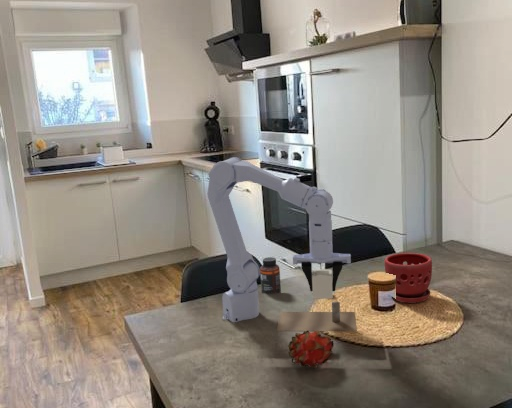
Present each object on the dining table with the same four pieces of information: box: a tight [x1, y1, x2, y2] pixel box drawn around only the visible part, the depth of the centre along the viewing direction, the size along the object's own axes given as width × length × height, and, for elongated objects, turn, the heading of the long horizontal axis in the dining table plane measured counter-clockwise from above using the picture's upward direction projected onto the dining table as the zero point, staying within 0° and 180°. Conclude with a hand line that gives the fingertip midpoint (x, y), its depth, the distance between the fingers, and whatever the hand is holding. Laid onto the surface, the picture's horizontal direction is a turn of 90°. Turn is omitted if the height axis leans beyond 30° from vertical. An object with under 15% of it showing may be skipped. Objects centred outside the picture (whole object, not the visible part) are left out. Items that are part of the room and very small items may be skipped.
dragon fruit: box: [287, 331, 334, 369], centre depth 119 cm, size 8×8×12 cm
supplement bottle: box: [259, 256, 282, 294], centre depth 162 cm, size 6×6×11 cm
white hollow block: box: [312, 269, 334, 300], centre depth 136 cm, size 5×5×6 cm
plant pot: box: [384, 252, 433, 304], centre depth 153 cm, size 13×13×12 cm
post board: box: [276, 301, 358, 332], centre depth 138 cm, size 20×12×6 cm, turn 83°
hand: (322, 289), depth 136 cm, fingers closed on white hollow block, 5 cm apart
